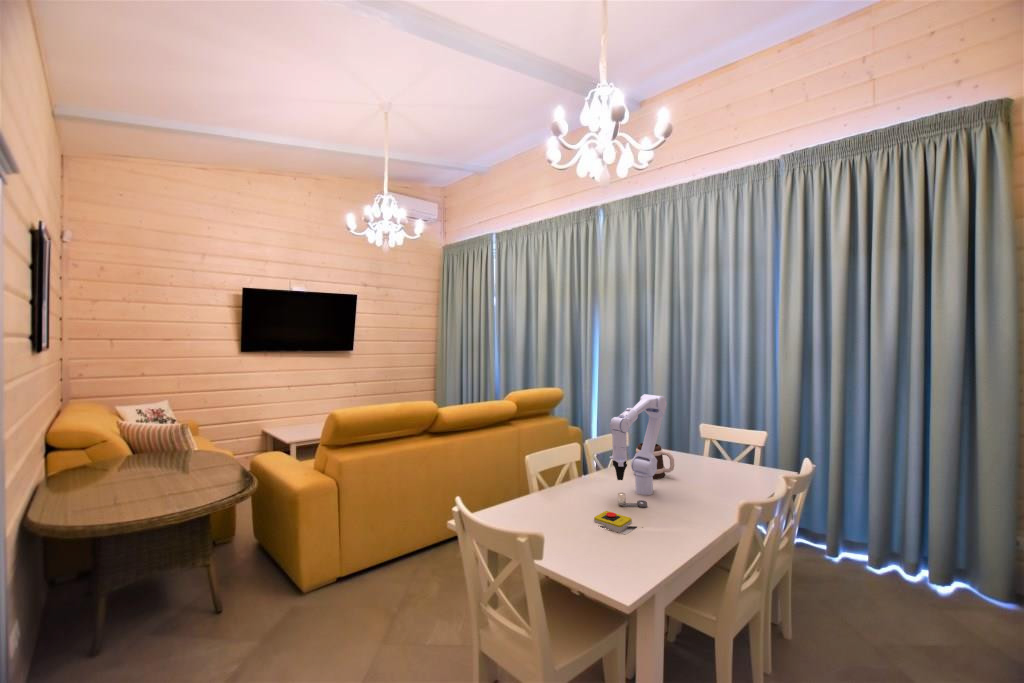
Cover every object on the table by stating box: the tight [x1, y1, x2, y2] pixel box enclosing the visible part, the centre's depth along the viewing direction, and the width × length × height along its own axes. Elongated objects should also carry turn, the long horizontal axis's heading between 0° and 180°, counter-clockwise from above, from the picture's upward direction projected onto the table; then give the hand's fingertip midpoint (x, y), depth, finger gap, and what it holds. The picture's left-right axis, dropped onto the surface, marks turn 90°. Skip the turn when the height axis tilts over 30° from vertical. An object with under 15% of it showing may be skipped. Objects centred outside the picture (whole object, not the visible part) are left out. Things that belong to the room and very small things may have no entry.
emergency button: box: [593, 510, 638, 536], centre depth 171 cm, size 9×4×15 cm
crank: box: [617, 492, 648, 509], centre depth 186 cm, size 12×4×5 cm, turn 85°
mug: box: [635, 442, 675, 480], centre depth 229 cm, size 20×15×15 cm
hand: (619, 479), depth 191 cm, fingers closed
